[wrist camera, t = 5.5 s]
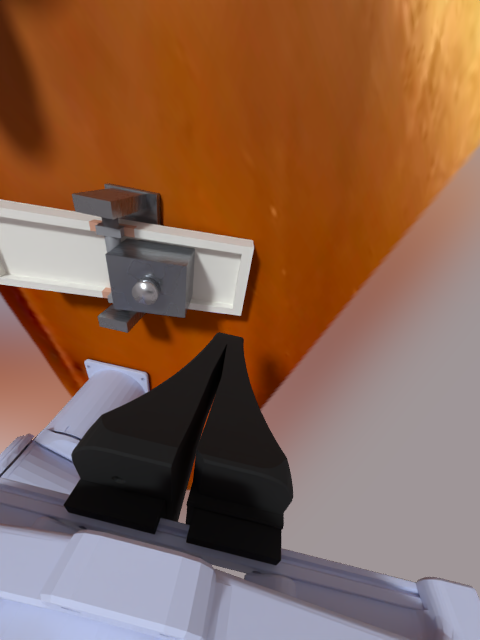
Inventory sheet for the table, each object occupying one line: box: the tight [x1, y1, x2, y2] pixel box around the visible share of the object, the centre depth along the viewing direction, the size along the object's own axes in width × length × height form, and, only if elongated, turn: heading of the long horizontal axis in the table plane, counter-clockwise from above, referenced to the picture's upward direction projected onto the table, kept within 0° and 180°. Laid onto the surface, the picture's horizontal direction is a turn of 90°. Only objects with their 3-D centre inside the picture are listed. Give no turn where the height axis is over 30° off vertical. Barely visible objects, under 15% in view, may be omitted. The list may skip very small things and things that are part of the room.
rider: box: [105, 238, 195, 318], centre depth 17 cm, size 4×5×4 cm
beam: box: [0, 199, 254, 316], centre depth 19 cm, size 7×20×2 cm, turn 81°
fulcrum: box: [72, 183, 161, 333], centre depth 19 cm, size 10×4×5 cm, turn 171°
